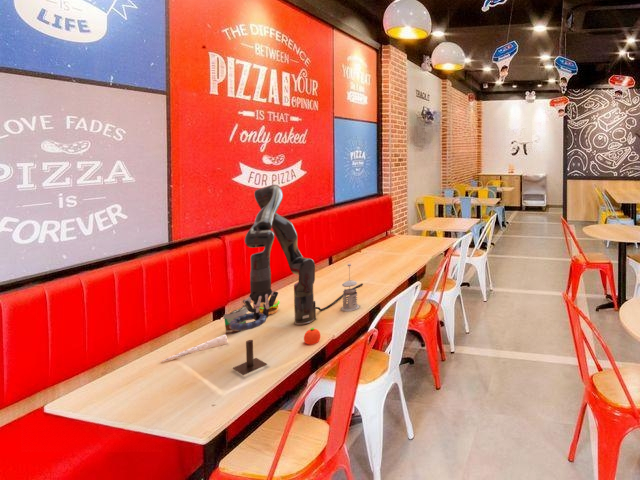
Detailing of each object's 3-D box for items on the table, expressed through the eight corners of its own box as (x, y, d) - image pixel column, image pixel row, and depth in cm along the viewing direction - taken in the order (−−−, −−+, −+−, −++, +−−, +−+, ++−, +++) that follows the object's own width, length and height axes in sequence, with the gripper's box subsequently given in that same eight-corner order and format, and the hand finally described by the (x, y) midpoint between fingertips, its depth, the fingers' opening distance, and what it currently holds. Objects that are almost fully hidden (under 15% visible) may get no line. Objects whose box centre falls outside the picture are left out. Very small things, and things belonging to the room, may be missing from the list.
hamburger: (257, 318, 204) (257, 302, 203) (253, 312, 213) (252, 296, 212) (282, 312, 211) (282, 296, 211) (276, 306, 220) (276, 291, 220)
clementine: (304, 341, 177) (303, 326, 177) (320, 338, 180) (320, 323, 180) (303, 349, 170) (303, 333, 170) (320, 346, 172) (320, 330, 172)
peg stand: (256, 361, 160) (255, 333, 160) (267, 367, 155) (266, 339, 155) (232, 371, 153) (232, 342, 153) (243, 378, 148) (242, 348, 148)
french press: (362, 304, 221) (361, 261, 220) (353, 312, 209) (352, 267, 209) (345, 304, 222) (344, 261, 221) (336, 312, 210) (335, 267, 210)
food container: (234, 336, 184) (233, 315, 184) (223, 335, 185) (223, 314, 185) (254, 324, 196) (253, 305, 196) (244, 324, 197) (243, 304, 197)
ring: (257, 315, 164) (256, 309, 164) (272, 322, 157) (272, 316, 157) (223, 326, 153) (223, 320, 153) (238, 334, 146) (238, 328, 146)
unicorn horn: (160, 359, 163) (160, 348, 163) (226, 342, 177) (226, 332, 177) (159, 364, 159) (159, 352, 159) (227, 346, 174) (227, 336, 174)
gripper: (272, 272, 167) (273, 311, 167) (238, 281, 155) (238, 323, 155) (282, 275, 163) (282, 315, 163) (247, 284, 151) (247, 327, 151)
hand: (261, 319), depth 159 cm, fingers closed on ring, 2 cm apart
